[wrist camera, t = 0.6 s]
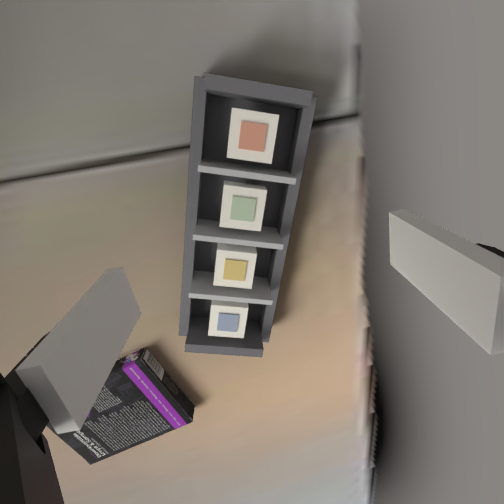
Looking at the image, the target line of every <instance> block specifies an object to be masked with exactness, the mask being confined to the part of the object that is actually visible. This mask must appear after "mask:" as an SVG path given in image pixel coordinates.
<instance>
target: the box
mask: <svg viewBox="0 0 504 504" xmlns="http://www.w3.org/2000/svg"><path fill="white" fill-rule="evenodd" d="M194 407H195V406H194V405H193V404H192V402H191V401H190V400H189V399H188V398H187V397H186V395H185V394H184V393H183V392H182V391H181V389H180V388H179V387H178V386H177V385H176V383H175V382H174V381H173V380H172V379H171V377H170V376H169V375H168V374H167V373H166V371H165V370H164V369H163V368H162V367H161V365H160V364H159V363H158V362H157V361H156V359H155V358H154V357H153V356H152V354H151V353H150V352H149V351H148V350H147V348H143V349H141V350H139V351H137V352H134V353H132V354H130V355H128V356H126V357H124V358H122V359H120V360H118V361H116V362H115V364H114V366H113V368H112V370H111V372H110V374H109V376H108V378H107V380H106V381H105V383H104V385H103V387H102V389H101V391H100V393H99V395H98V397H97V399H96V401H95V403H94V404H93V406H92V408H91V410H90V412H89V414H88V416H87V418H86V420H85V422H84V424H83V425H82V427H81V429H80V430H78V431H72V432H67V433H61V434H57V433H56V431H55V430H54V428H53V427H52V425H51V424H50V422H48V424H47V425H46V426H47V427H48V428H50V429H51V430H52V431H53V432H54V433H55V434H56V435H57V436H58V437H60V438H61V439H62V440H63V441H64V442H65V443H67V444H68V445H69V446H70V447H71V448H73V449H74V450H75V451H76V452H77V453H78V454H79V455H81V456H82V457H83V458H84V459H85V460H86V461H87V462H88V464H90V465H91V464H93V463H96V462H98V461H101V460H103V459H105V458H108V457H110V456H113V455H115V454H117V453H120V452H122V451H125V450H127V449H129V448H132V447H134V446H136V445H139V444H141V443H144V442H146V441H148V440H151V439H153V438H156V437H158V436H160V435H163V434H165V433H167V432H169V431H172V430H174V429H177V428H179V427H181V426H184V425H186V424H189V423H191V422H193V414H194Z"/></svg>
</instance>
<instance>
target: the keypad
mask: <svg viewBox="0 0 504 504" xmlns="http://www.w3.org/2000/svg"><path fill="white" fill-rule="evenodd" d="M312 95H313V91H309V90H303V89H297V88H291V87H285V86H279V85H274V84H268V83H262V82H256V81H250V80H244V79H238V78H232V77H227V76H221V75H215V74H209V73H205V74H204V77H199V76H194V92H193V108H192V125H191V141H190V158H189V174H188V191H187V207H186V224H185V240H184V257H183V273H182V290H181V306H180V323H179V336H187V338H186V343H185V352H194V353H208V354H223V355H237V356H251V357H262V354H263V343H262V342H269V338H270V333H271V328H272V323H273V318H274V313H275V308H276V303H277V298H278V293H279V288H280V283H281V278H282V273H283V267H284V262H285V257H286V252H287V247H288V242H289V237H290V232H291V227H292V222H293V217H294V212H295V207H296V202H297V197H298V192H299V187H300V182H301V177H302V172H303V167H304V162H305V157H306V152H307V147H308V142H309V137H310V132H311V127H312V122H313V117H314V112H315V107H316V102H317V96H312ZM232 108H238V109H245V110H251V111H257V112H264V113H270V114H276V115H279V120H278V126H277V133H276V139H275V145H274V151H273V158H272V164H268V163H261V162H254V161H247V160H240V159H233V158H227V149H228V139H229V130H230V120H231V111H232ZM224 181H232V182H239V183H247V184H254V185H262V186H265V187H266V189H267V195H266V202H265V208H264V214H263V220H262V227H261V231H252V230H243V229H235V228H226V227H219V225H220V216H221V206H222V196H223V187H224ZM218 243H226V244H235V245H244V246H253V247H256V251H257V258H256V264H255V270H254V277H253V283H252V289H247V288H237V287H226V286H215V285H213V282H214V273H215V263H216V254H217V245H218ZM212 300H220V301H231V302H243V303H248V314H247V321H246V327H245V333H244V338H233V337H220V336H208V330H209V320H210V311H211V302H212Z"/></svg>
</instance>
